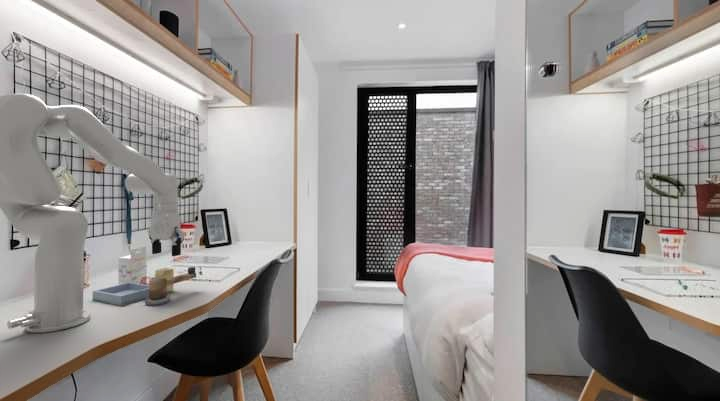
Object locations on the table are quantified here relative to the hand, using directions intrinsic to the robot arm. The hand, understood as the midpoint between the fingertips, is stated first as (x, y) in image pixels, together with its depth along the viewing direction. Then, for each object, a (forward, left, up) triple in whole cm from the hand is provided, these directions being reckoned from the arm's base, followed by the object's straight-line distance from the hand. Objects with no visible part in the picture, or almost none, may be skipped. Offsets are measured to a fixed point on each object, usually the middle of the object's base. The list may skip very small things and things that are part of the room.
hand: (166, 254), depth 114 cm
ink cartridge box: (-1, +16, -14) cm, 21 cm away
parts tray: (-11, +5, -13) cm, 18 cm away
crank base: (-6, -2, -13) cm, 15 cm away
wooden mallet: (-4, -9, -12) cm, 15 cm away
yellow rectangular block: (-1, 0, -13) cm, 13 cm away
